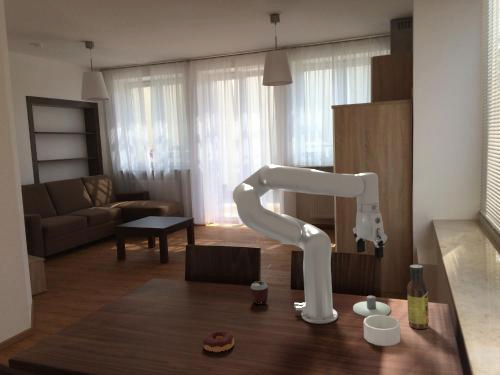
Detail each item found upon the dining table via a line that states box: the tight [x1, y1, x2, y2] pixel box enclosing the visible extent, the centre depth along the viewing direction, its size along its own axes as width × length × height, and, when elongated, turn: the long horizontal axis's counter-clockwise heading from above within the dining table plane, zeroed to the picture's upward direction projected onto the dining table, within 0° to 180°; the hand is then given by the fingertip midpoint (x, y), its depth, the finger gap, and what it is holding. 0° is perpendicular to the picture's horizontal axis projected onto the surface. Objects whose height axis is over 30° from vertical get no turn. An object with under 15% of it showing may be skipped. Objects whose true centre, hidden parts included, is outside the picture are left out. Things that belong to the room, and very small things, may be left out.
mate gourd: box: [249, 264, 272, 305], centre depth 162 cm, size 8×8×15 cm
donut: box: [202, 329, 235, 353], centre depth 129 cm, size 10×10×4 cm
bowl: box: [363, 315, 401, 347], centre depth 127 cm, size 11×11×5 cm
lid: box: [352, 295, 391, 318], centre depth 149 cm, size 13×13×5 cm
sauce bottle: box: [406, 264, 430, 330], centre depth 133 cm, size 7×6×20 cm
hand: (369, 254), depth 147 cm, fingers open, 9 cm apart
